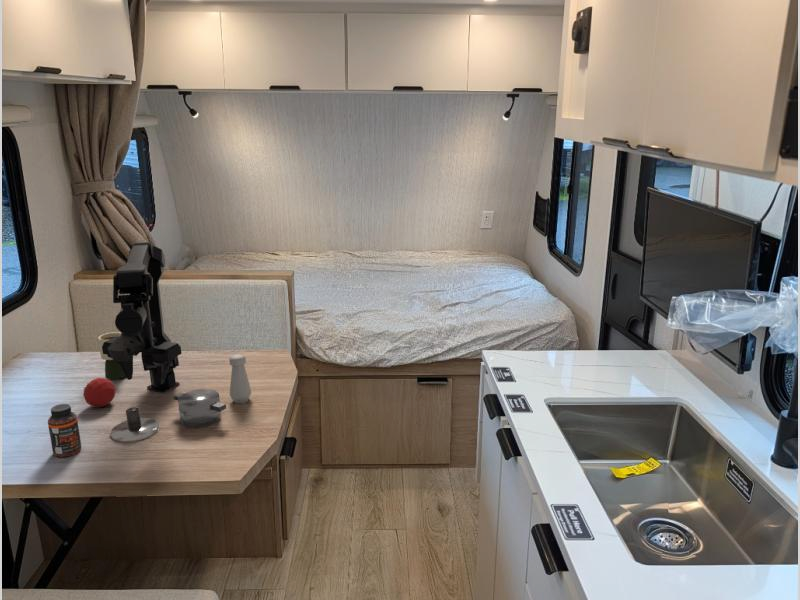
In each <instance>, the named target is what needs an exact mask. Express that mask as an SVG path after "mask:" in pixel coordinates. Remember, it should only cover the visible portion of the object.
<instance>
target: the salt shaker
mask: <svg viewBox="0 0 800 600" xmlns="http://www.w3.org/2000/svg"><path fill="white" fill-rule="evenodd" d="M246 363H247V358H246V356H245V355H244V354H240V353H237V354H233V355H231V356H230V357H229V365H230V366H231V376H230V384H229V397H230V399H231V400H232V401H233V402H234V404H244V403H247V402H248V401H249V399H250V397H251V395H252V389H251V385H250V381H249V378H248V374H247V371H246V366H245V365H246Z"/></svg>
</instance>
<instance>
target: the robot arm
mask: <svg viewBox="0 0 800 600" xmlns="http://www.w3.org/2000/svg"><path fill="white" fill-rule="evenodd" d="M165 267H166V258H165V253H164V251H163V250H162V249H161V248H159V247H157V246H155V245H153V242H149V241H139V242H136V241H135V242H132V243H130V249H129V250H128V258H127V262H126V264H125V265H121V266H120V267H118V269H117V270H116V271H115V272H116V273H115V274H114V275H113V278H112V279H113V280H112V283H113V285H112V287H113V289H112V291H113V293H112V296H113V298H112V302H113V304H120V310H119V312H118V313H117V315H116V317H115V320H114V324H115V327H116V329H117V330H118V332H121V336H120V337H119V336H117V337H114V338H112V339H110V340H108V341H106V342H104V343H103V345H102V351H103V354H106V355H107V356H108V357H110V358H112V359H113V360H116V361H117V362H118V363H119V365H120V367H121V368H122V370H123V372H124V373H125V375H126V376H125V377H126V379H127V380H129V381H130V380H132V379H133V375H134V357H136V356H138V355H139V354H140V353H141V354H140V355H141V361H142V362H141V363H142V366H143V367H142V368H143V371H144V372H146V371H149V378H150V385H148V386H146V389H148V390H151V391H155V392H159V393H165V392H168V391H169V390H171V389H174V388H176V387H178V386H179V385H180V383H181V382H179V381H176V372H175V371H174V369H177V367H178V366H180V362H179V357H178V356H180V355H182V347H181V345H180V344H179V343H178V342H177V343H176V342H172V340H171V338H170V337H169V336H168V335H167V334H166V333H165V328H164V327H165V325H164V319H163V307H162V300H161V299H162V298H161V291H160V281H161V278H162V276H163V274H164V272H165V271H164V268H165Z"/></svg>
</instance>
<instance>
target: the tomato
mask: <svg viewBox="0 0 800 600" xmlns="http://www.w3.org/2000/svg"><path fill="white" fill-rule="evenodd" d="M116 391H117V389H116V386H115V384H114V382H112V381H111V379H107V378H106V377H105V378H103V377H97V378H94V379H92V380H90V381H89V382H88V383H86V386H85V387H84V390H83V394H82V395H83V398H84V401H85V402H86V403H87V404H88V405H89V406H91V407H94V408H102V406H103V407H105V406H107V405H109V404H110V403H111V402H113V400H114V398H115V397H116V396H115V394H116Z"/></svg>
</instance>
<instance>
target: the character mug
mask: <svg viewBox="0 0 800 600" xmlns="http://www.w3.org/2000/svg"><path fill="white" fill-rule="evenodd" d="M117 336H119V337H120V336H121V332H120V331H115V332H113V331H112V332H106V333H103V334H101V335H99V336H98V337H97V338H98V339H97V340H98V347H99V354H100V358H101V359H102V360H105V362H104V374H105V375H104V377H105V379H108V380H115V379H121V378H123V377H126V375H125V373H124V372H123V370H122V368H121V367H120V365H119V363H118V362H117V361H116V360H113V359H112V358H110V357H108V356H107V355H106V354H103V351H102V345H103V343H104V342H106V341H108V340H110V339H112V338H114V337H117Z"/></svg>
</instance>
